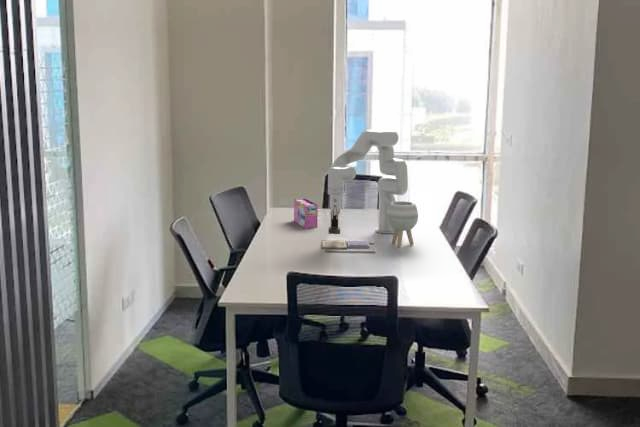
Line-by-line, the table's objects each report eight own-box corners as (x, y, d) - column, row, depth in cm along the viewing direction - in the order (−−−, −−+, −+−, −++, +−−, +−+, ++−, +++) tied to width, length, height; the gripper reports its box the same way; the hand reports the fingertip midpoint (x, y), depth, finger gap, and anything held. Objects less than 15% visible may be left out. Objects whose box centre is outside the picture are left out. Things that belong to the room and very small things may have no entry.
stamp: (339, 231, 368) (340, 208, 366) (340, 234, 362) (340, 210, 360) (328, 231, 368) (328, 207, 366) (328, 233, 362) (328, 209, 360)
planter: (397, 249, 359) (398, 206, 355) (380, 243, 373) (381, 201, 369) (423, 246, 366) (424, 204, 362) (405, 240, 380) (406, 199, 376)
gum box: (292, 220, 431) (292, 198, 428) (305, 219, 434) (305, 198, 431) (305, 228, 409) (305, 205, 406) (317, 227, 411) (318, 204, 409)
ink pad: (368, 243, 372) (368, 240, 372) (369, 248, 361) (369, 245, 361) (347, 243, 372) (347, 240, 372) (348, 248, 361) (348, 245, 361)
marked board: (346, 242, 374) (346, 240, 374) (347, 249, 359) (347, 247, 359) (321, 241, 374) (322, 240, 374) (321, 248, 359) (321, 247, 359)
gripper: (342, 193, 353) (342, 229, 356) (341, 188, 369) (341, 222, 373) (327, 193, 353) (327, 229, 356) (327, 188, 369) (327, 222, 373)
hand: (334, 225), depth 364 cm, fingers closed on stamp, 4 cm apart
